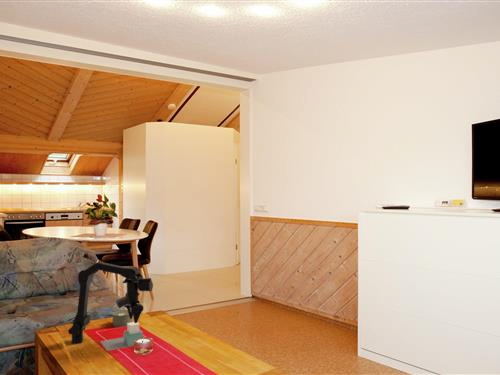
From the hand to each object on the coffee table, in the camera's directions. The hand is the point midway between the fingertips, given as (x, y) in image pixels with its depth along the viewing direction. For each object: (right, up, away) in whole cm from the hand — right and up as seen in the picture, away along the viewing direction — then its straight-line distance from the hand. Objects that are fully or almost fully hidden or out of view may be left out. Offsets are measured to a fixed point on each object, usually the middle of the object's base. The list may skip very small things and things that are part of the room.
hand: (133, 320), depth 233 cm
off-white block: (0, -6, 0) cm, 6 cm away
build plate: (-6, -13, +1) cm, 14 cm away
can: (-16, -13, +36) cm, 41 cm away
